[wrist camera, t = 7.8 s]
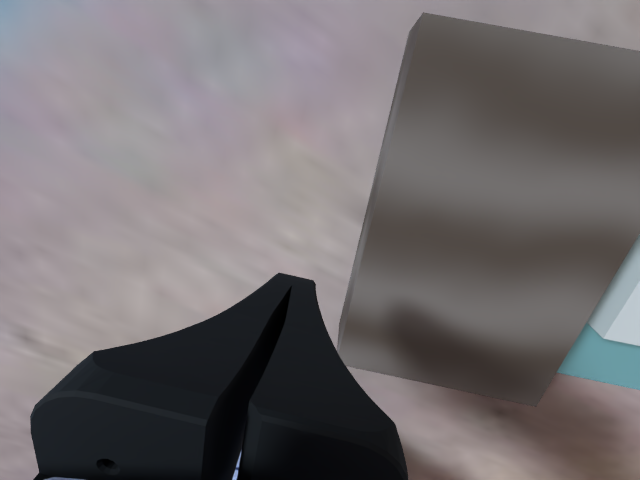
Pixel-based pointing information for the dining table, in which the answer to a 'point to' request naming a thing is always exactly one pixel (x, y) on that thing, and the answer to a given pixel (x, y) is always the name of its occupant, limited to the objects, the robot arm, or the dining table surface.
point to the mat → (603, 360)
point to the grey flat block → (494, 208)
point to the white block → (621, 303)
